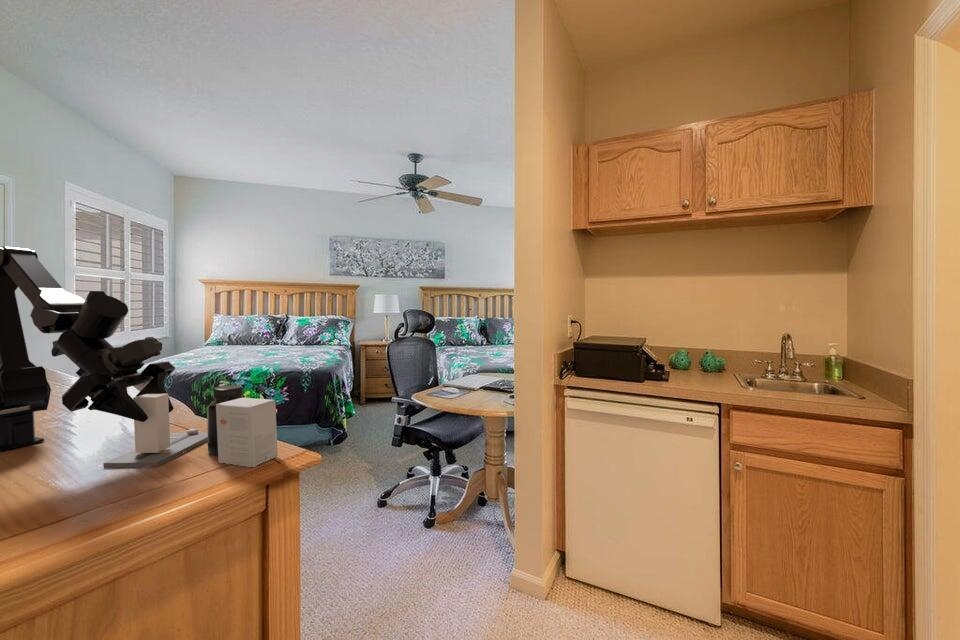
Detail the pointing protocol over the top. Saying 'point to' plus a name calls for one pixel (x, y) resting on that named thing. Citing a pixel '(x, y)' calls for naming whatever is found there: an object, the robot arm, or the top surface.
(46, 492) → the top surface
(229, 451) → the small box
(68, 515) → the top surface
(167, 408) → the fader tab
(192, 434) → the board
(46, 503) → the top surface
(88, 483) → the top surface
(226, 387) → the supplement bottle
